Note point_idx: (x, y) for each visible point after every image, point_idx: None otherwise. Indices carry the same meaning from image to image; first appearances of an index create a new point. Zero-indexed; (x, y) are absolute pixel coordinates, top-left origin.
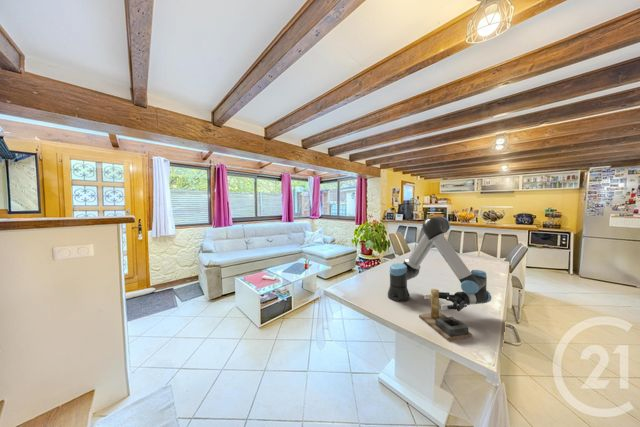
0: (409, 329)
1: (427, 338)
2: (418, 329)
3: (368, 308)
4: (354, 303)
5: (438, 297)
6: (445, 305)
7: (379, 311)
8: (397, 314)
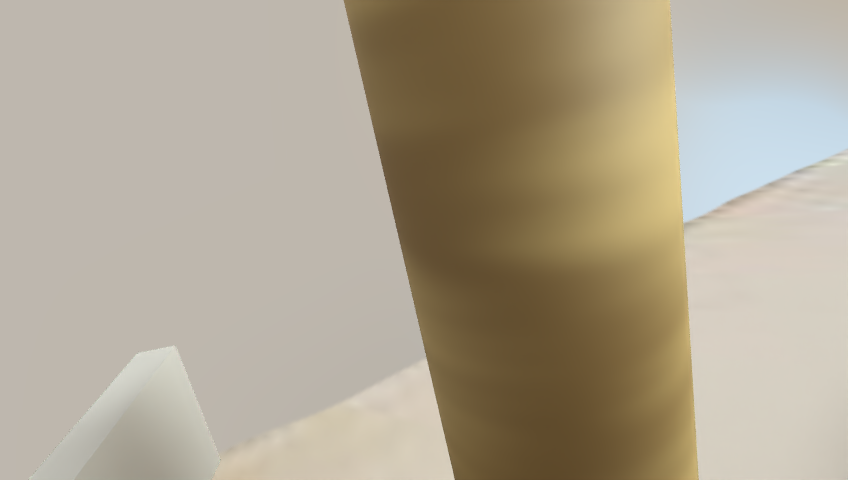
0: (407, 377)
1: (232, 459)
2: (387, 435)
3: (760, 216)
4: (818, 173)
5: (409, 261)
6: (84, 438)
7: (727, 255)
8: (708, 340)
